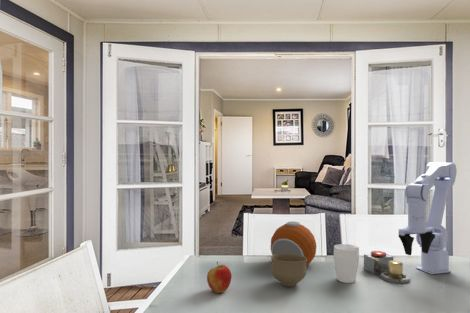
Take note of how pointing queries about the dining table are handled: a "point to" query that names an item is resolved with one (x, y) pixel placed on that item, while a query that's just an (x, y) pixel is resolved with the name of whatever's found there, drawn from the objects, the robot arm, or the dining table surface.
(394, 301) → the dining table surface
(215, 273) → the apple
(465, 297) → the dining table surface
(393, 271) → the knob
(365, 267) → the red button switch
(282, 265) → the bowl
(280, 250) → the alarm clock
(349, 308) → the dining table surface
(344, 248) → the cup
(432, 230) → the robot arm
